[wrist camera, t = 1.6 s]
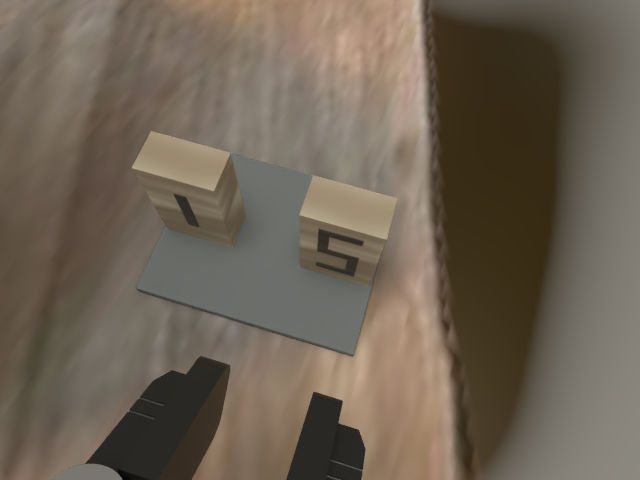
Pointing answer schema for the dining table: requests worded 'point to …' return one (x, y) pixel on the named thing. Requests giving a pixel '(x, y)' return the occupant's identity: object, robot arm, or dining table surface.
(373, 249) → the tile
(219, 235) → the tile
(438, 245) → the dining table surface
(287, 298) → the mat
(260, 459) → the dining table surface
